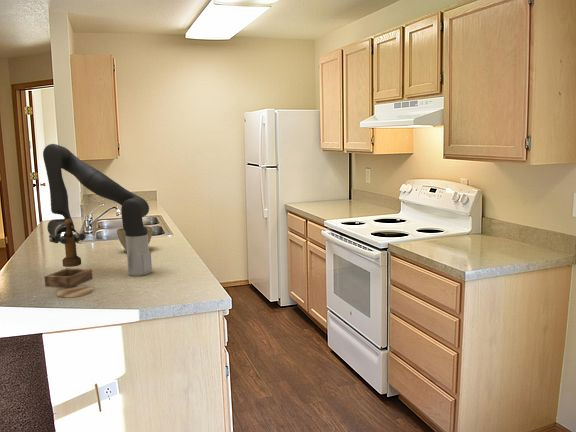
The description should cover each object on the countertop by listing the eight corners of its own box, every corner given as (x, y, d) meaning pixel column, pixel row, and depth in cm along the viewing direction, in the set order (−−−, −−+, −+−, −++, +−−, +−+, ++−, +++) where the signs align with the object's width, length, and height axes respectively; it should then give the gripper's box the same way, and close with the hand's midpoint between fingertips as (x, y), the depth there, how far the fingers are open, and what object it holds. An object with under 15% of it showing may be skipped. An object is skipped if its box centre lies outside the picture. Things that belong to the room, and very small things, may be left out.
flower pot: (158, 247, 281) (157, 225, 279) (146, 255, 263) (144, 231, 261) (126, 247, 282) (125, 225, 281) (112, 255, 265) (110, 231, 263)
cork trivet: (99, 288, 204) (99, 287, 204) (78, 298, 192) (78, 297, 192) (72, 286, 208) (71, 285, 208) (49, 296, 196) (49, 295, 195)
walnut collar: (92, 278, 220) (91, 269, 219) (71, 287, 207) (70, 277, 206) (67, 277, 223) (66, 268, 223) (45, 286, 210) (44, 276, 210)
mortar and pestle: (61, 267, 194) (57, 220, 192) (64, 263, 201) (60, 218, 198) (80, 266, 196) (76, 219, 193) (82, 262, 202) (78, 217, 200)
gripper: (45, 226, 205) (49, 232, 190) (83, 222, 212) (90, 228, 197) (47, 244, 206) (51, 252, 192) (84, 240, 213) (91, 248, 198)
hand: (70, 240), depth 194 cm, fingers closed on mortar and pestle, 4 cm apart
